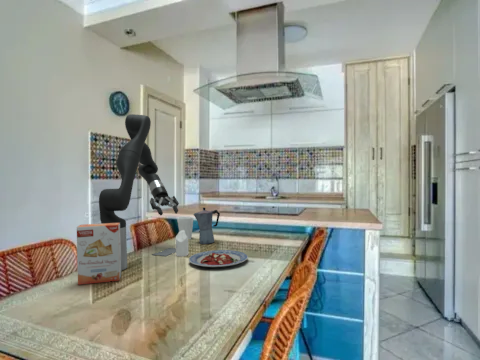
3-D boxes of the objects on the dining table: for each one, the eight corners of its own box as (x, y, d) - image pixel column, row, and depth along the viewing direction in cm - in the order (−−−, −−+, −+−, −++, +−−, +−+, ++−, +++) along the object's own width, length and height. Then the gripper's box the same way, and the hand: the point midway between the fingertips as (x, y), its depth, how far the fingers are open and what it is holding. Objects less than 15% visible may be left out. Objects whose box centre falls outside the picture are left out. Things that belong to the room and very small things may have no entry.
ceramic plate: (176, 266, 128) (176, 259, 128) (210, 252, 151) (209, 246, 151) (229, 274, 116) (229, 267, 116) (257, 257, 139) (257, 251, 138)
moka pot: (191, 242, 174) (190, 207, 173) (217, 239, 180) (216, 205, 180) (196, 245, 165) (195, 208, 165) (223, 242, 172) (222, 207, 171)
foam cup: (192, 240, 178) (191, 218, 178) (176, 241, 178) (175, 218, 178) (194, 237, 188) (194, 216, 188) (180, 237, 188) (179, 216, 188)
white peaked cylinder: (174, 231, 143) (176, 229, 149) (175, 256, 143) (177, 253, 149) (187, 230, 143) (188, 228, 149) (187, 256, 143) (189, 253, 149)
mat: (165, 256, 144) (165, 255, 144) (152, 255, 147) (152, 254, 147) (182, 249, 157) (182, 249, 157) (169, 248, 160) (169, 247, 160)
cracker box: (77, 285, 107) (75, 226, 107) (81, 280, 113) (79, 224, 112) (120, 281, 111) (118, 224, 110) (121, 276, 116) (120, 221, 116)
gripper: (147, 186, 156) (158, 210, 148) (172, 184, 166) (184, 207, 157) (143, 196, 160) (154, 219, 152) (168, 194, 170) (179, 216, 161)
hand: (169, 213), depth 155 cm, fingers open, 8 cm apart
